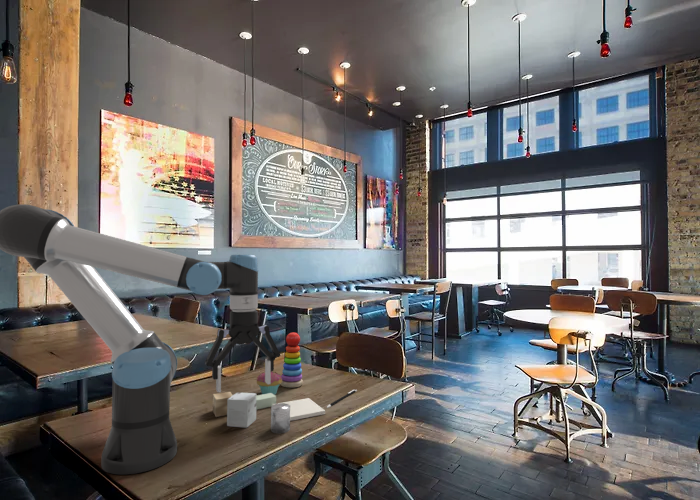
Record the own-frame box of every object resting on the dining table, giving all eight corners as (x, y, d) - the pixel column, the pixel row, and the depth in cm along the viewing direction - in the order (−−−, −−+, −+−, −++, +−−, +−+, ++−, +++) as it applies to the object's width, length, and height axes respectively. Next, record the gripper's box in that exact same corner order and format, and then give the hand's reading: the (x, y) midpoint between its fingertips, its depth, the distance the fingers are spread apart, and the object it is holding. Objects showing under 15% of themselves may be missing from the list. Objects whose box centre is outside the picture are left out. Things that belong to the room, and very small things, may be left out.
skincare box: (247, 428, 107) (247, 400, 107) (226, 426, 108) (226, 398, 108) (256, 419, 113) (257, 393, 113) (236, 417, 114) (236, 391, 114)
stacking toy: (301, 388, 140) (302, 334, 141) (278, 388, 140) (279, 334, 141) (304, 381, 148) (304, 330, 149) (282, 381, 148) (283, 330, 149)
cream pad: (286, 421, 112) (286, 418, 112) (272, 407, 122) (272, 404, 122) (325, 414, 118) (325, 410, 118) (308, 401, 128) (308, 398, 128)
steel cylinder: (274, 434, 103) (274, 411, 104) (268, 427, 108) (268, 405, 108) (292, 431, 106) (293, 408, 106) (286, 424, 110) (286, 402, 110)
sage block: (254, 410, 120) (254, 400, 120) (249, 406, 124) (249, 396, 124) (276, 406, 124) (276, 396, 124) (271, 402, 127) (271, 392, 128)
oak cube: (215, 417, 115) (216, 399, 115) (212, 411, 119) (213, 394, 119) (233, 414, 117) (233, 396, 117) (229, 408, 122) (230, 391, 122)
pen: (357, 391, 139) (357, 388, 139) (327, 409, 122) (327, 405, 122) (355, 391, 139) (355, 388, 139) (325, 408, 123) (325, 405, 123)
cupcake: (275, 398, 130) (276, 361, 130) (251, 396, 132) (252, 359, 132) (285, 390, 138) (285, 355, 139) (262, 388, 140) (262, 353, 140)
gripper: (198, 314, 102) (198, 398, 102) (291, 308, 114) (291, 383, 114) (194, 311, 109) (194, 390, 108) (282, 305, 121) (282, 376, 120)
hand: (243, 387), depth 111 cm, fingers open, 13 cm apart
